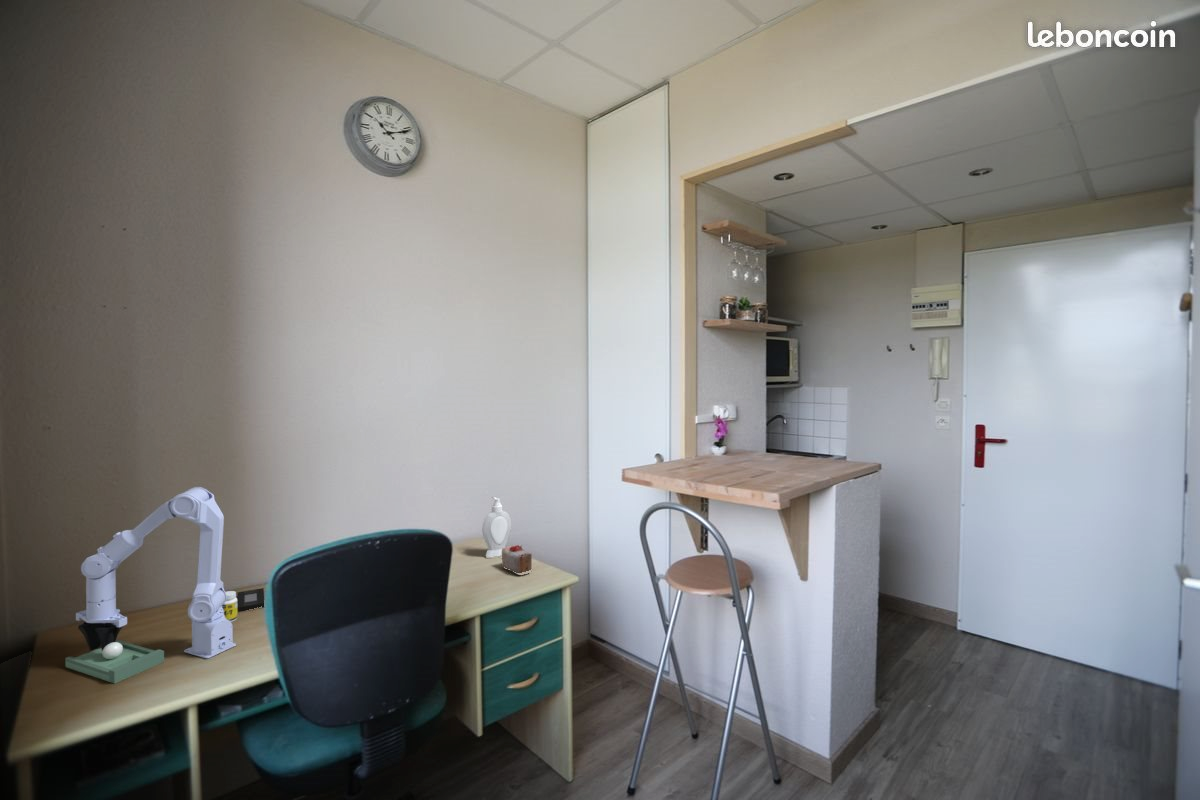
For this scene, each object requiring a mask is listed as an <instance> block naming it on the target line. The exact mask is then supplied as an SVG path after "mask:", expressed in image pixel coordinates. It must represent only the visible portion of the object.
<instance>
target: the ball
mask: <svg viewBox="0 0 1200 800" xmlns="http://www.w3.org/2000/svg"><path fill="white" fill-rule="evenodd" d="M122 651H123V646H122V645H121V644H120V643H118V642H113V643H110V644H108V645H106V646H105V647H104V649H103V651H102V655H103V657H104V658H106V659H114V658H116V657H118V656H119V655H120V654H121V653H122Z"/></svg>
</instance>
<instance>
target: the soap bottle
mask: <svg viewBox="0 0 1200 800" xmlns="http://www.w3.org/2000/svg"><path fill="white" fill-rule="evenodd" d="M491 498H492V499H494V500H493V501H494V502H493V505H491V511H490V512H489V513H487V514H486V516H485V518H483V519H484V520H483V523H482V526H481V527H482V529H481V532H482V536H483V539H484V542H485V544H486V546H487V548H488V549H487V550H486V553H485V556H487V557H494V556H500V555H502V548H505V547H507V543H508V540H509V537H510V534H511V531H512V520H511V516H510V514H509V513H508V512H507V511H505V510H503V505H502V503H501V498H498V497H495V496H492V497H491Z"/></svg>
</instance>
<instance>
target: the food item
mask: <svg viewBox="0 0 1200 800" xmlns="http://www.w3.org/2000/svg"><path fill="white" fill-rule="evenodd" d="M522 546H523V545H522V544H521V545H519V544H517V545H515V546H514V545H511V546H510V545H508V546H507V545H506V546H505V548H502V557H501V560H502V563H501V564H502V568H503V567H505V568H507V569H510V570H511V571H514V572H516V573H522V572H526V571H529V570H531V569H532V561H533V558H532V553H531V552H528V551H526V550H525V549H523V547H522ZM507 569H506V570H507ZM532 570H533V569H532ZM511 571H510V572H511Z"/></svg>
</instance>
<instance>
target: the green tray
mask: <svg viewBox="0 0 1200 800" xmlns="http://www.w3.org/2000/svg"><path fill="white" fill-rule="evenodd" d="M115 642H118V643H120V644H121V645H122V646H123V651H122V653H121V654H120V655H119V656H118V657H116V658H114V659H106V658H104V657H103V655H102V648H101V647H99V648H97V649H94V650H92V651H91V650H90V651H89V652H86V653H84V654H81V655H79V656H76V657H74V656H67V657H65V668H67V669H71V670H74V671H75V672H79V673H82V674H85V675H88V676H90V677H94V678H96V679H100V680H103V681H106V682H108V683H112V684H117V683H119V682H121V681H123V680H126V679H128V678H130V677H133V676H136V675H138V674H140V673H142V672H144V671H146V670H149V669H152V668H153V667H156V666H159V665H160V664H163V663H165V650H162V649H156V650H154V649H151V648H148V647H145V646H142V645H141V646H140V645H138V644H133V643H131V642H127V641H124V640H120V639H117V638H116V641H115Z"/></svg>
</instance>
